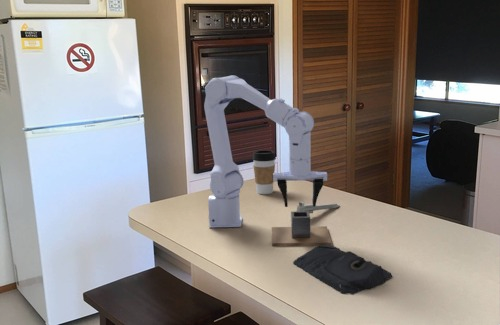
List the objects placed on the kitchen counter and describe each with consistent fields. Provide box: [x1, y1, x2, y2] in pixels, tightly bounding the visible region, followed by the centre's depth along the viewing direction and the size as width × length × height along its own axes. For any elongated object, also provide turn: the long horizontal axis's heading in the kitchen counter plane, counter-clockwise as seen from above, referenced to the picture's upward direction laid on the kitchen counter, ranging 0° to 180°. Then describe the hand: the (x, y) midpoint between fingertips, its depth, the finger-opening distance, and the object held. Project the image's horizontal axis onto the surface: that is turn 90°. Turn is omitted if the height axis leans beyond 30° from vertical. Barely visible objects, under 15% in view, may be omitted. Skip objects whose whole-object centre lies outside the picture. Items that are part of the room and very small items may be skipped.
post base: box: [271, 225, 332, 247], centre depth 147 cm, size 16×12×5 cm
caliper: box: [296, 201, 340, 214], centre depth 165 cm, size 20×1×6 cm, turn 134°
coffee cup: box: [252, 149, 277, 195], centre depth 187 cm, size 8×8×15 cm
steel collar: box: [290, 210, 311, 238], centre depth 146 cm, size 5×5×6 cm
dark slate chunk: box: [292, 244, 393, 296], centre depth 126 cm, size 15×22×5 cm
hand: (300, 205), depth 145 cm, fingers open, 7 cm apart
